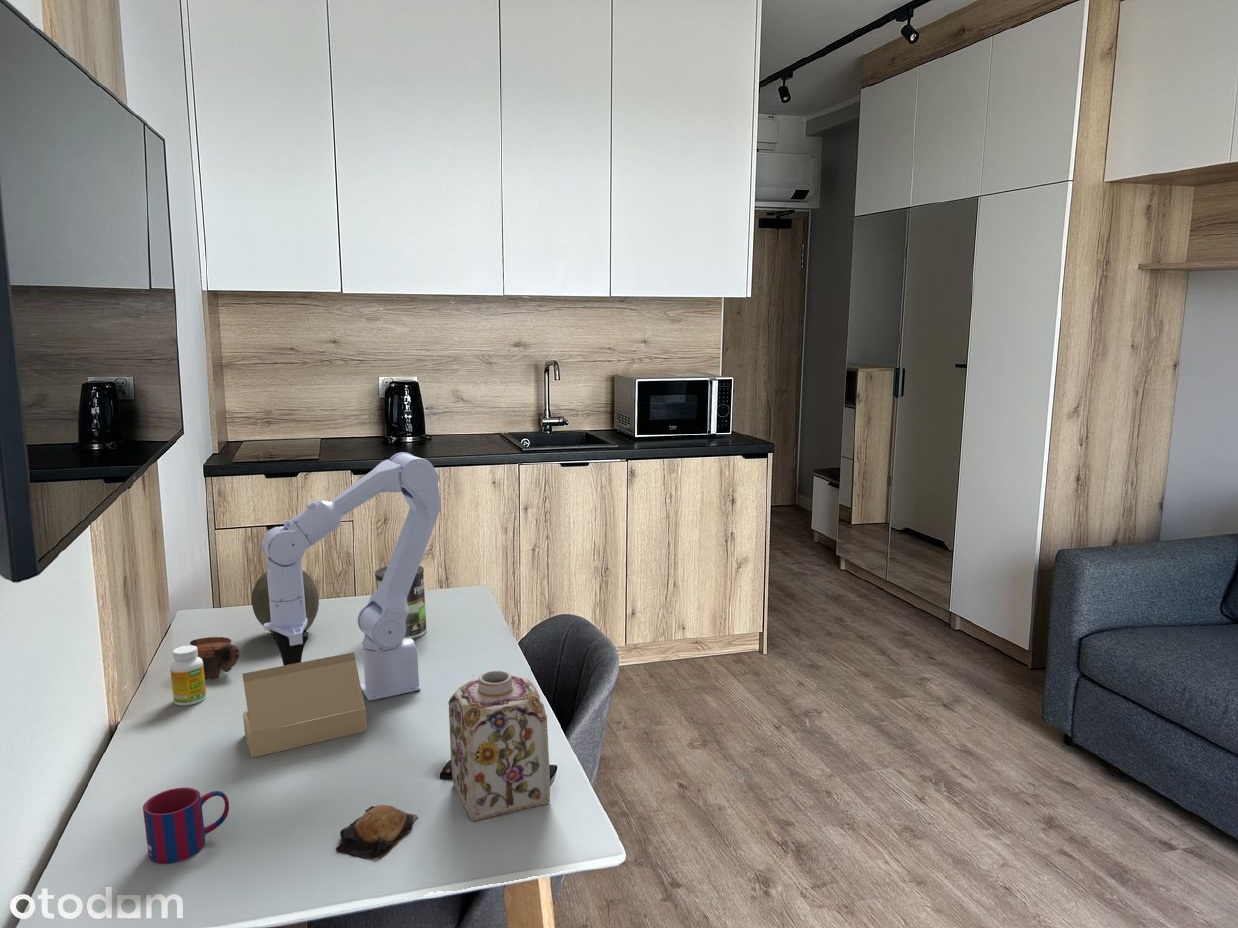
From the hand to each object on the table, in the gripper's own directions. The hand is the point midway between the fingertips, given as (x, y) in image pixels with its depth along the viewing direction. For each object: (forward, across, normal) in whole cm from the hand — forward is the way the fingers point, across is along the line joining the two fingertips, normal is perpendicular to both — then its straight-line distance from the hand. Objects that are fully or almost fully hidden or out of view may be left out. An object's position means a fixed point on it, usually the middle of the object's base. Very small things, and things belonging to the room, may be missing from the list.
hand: (292, 671), depth 156 cm
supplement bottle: (+8, -15, -16) cm, 23 cm away
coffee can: (+8, -29, +27) cm, 40 cm away
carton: (+7, +10, 0) cm, 12 cm away
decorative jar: (+8, +44, +21) cm, 49 cm away
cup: (+8, +35, -19) cm, 41 cm away
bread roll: (+8, +45, +3) cm, 46 cm away
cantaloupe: (+8, -41, +5) cm, 42 cm away
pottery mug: (+8, -27, -11) cm, 30 cm away
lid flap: (-1, +11, 0) cm, 11 cm away
